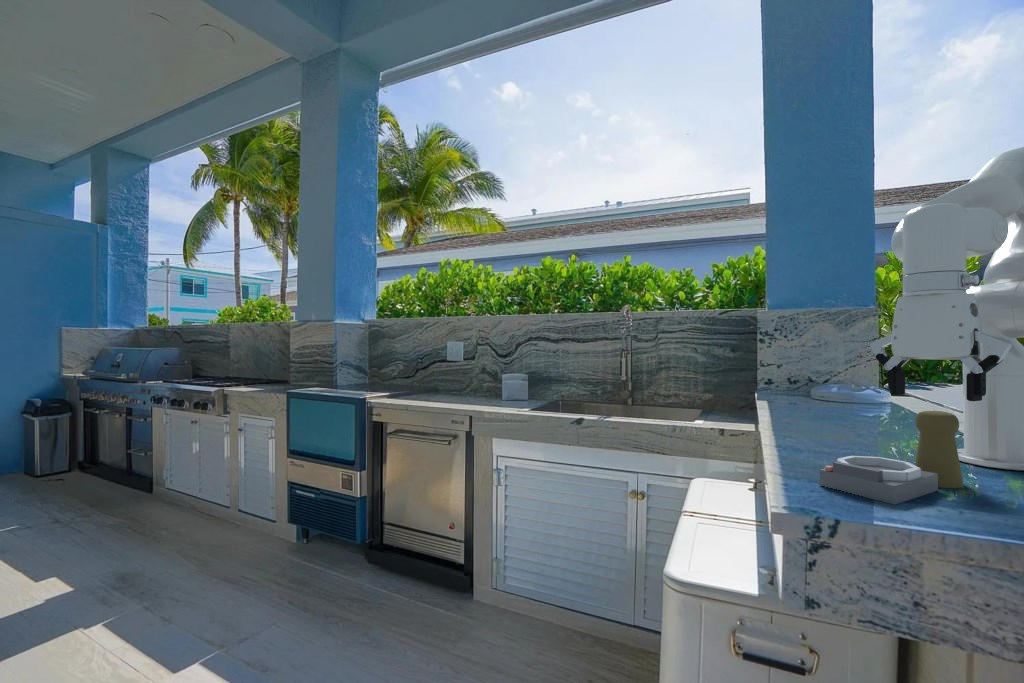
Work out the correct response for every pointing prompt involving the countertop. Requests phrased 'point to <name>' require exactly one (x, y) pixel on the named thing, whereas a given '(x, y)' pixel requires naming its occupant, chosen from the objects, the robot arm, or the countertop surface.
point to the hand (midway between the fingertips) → (933, 397)
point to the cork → (939, 447)
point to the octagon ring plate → (879, 478)
